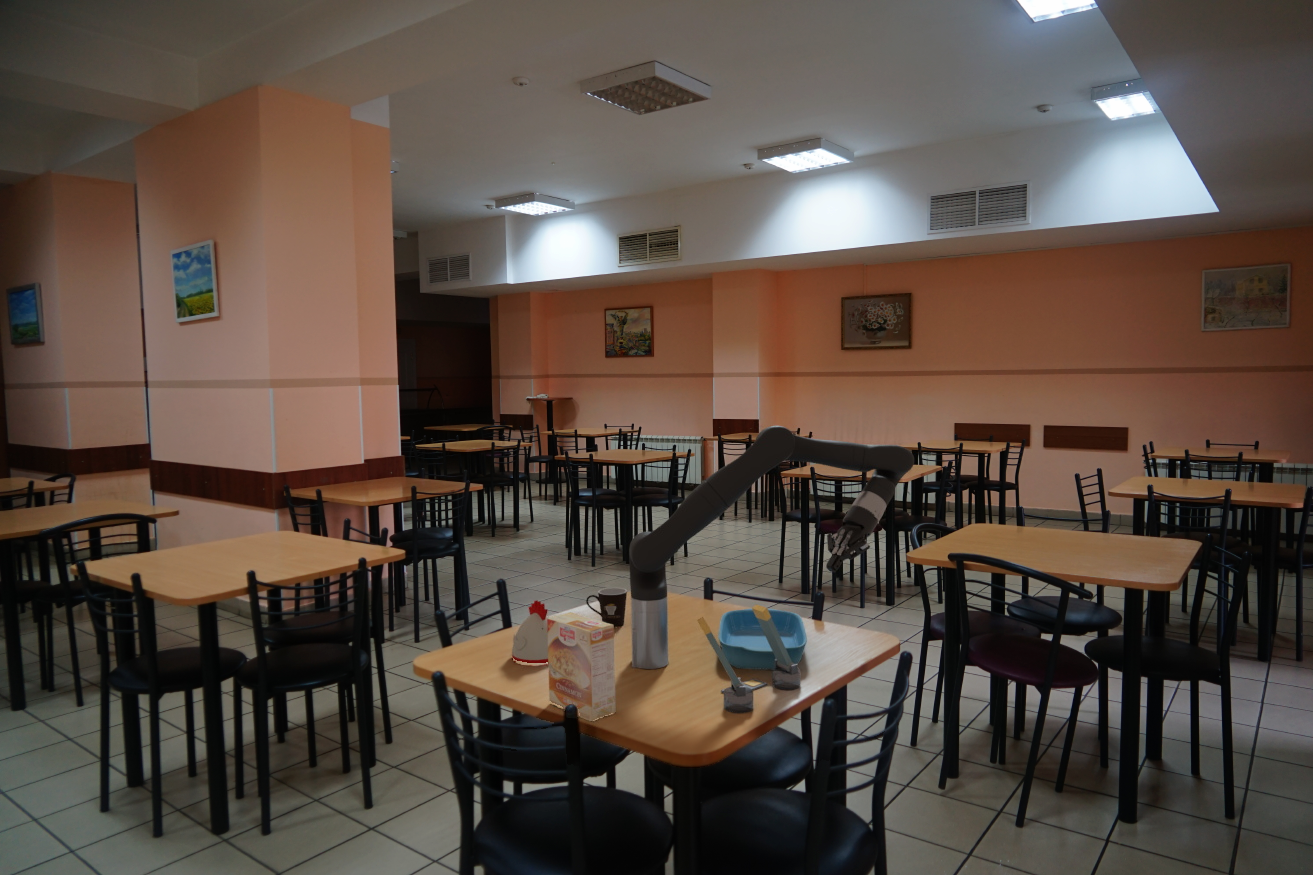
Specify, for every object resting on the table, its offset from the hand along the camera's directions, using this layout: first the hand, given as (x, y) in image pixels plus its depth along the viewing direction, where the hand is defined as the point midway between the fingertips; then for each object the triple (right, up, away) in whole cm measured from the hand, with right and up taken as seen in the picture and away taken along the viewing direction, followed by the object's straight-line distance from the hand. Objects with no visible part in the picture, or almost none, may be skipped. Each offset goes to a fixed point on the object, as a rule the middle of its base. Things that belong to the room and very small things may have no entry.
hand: (830, 569), depth 191 cm
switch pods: (-18, -26, -13) cm, 34 cm away
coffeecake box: (-58, -28, -18) cm, 67 cm away
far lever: (-12, -21, -6) cm, 25 cm away
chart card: (-21, -26, -8) cm, 35 cm away
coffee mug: (-56, -24, +47) cm, 77 cm away
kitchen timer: (-73, -26, +18) cm, 79 cm away
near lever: (-24, -22, -19) cm, 38 cm away
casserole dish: (-14, -25, +19) cm, 34 cm away
